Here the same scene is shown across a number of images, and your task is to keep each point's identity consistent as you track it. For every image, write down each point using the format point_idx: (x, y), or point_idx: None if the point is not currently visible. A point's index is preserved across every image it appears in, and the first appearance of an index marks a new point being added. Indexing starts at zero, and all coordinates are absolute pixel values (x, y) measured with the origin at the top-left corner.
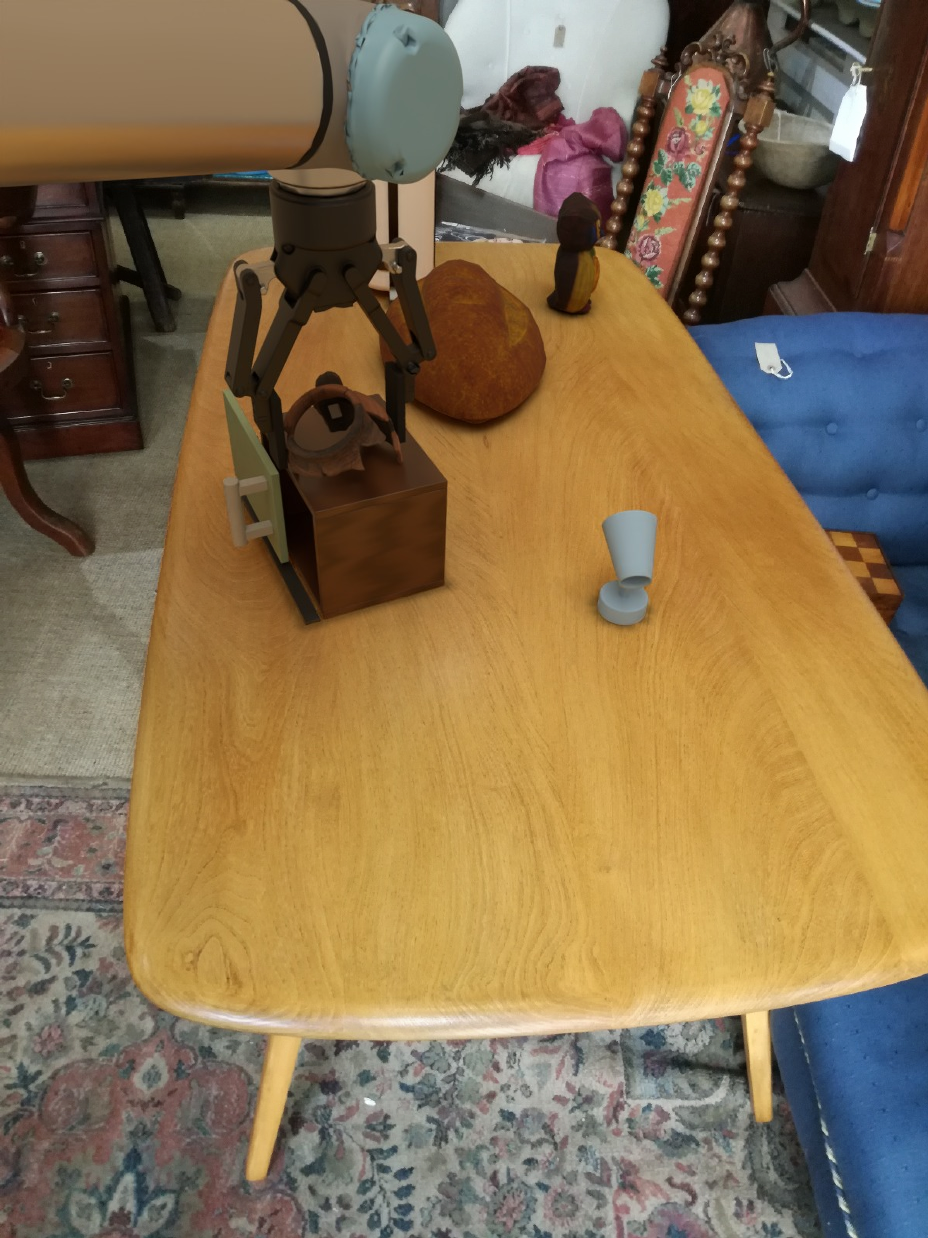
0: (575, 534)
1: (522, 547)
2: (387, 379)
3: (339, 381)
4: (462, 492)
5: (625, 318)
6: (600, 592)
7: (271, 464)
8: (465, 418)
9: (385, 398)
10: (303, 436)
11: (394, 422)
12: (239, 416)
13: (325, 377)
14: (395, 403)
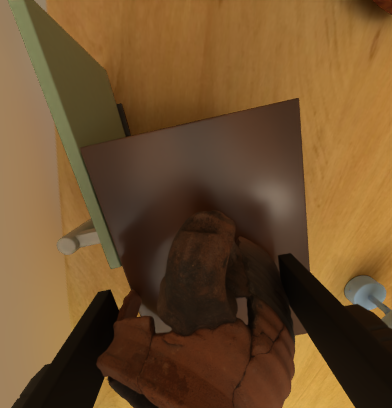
0: (374, 212)
1: (328, 220)
2: (350, 356)
3: (226, 305)
4: (313, 137)
5: None
6: (357, 292)
7: (110, 247)
8: (380, 6)
9: (309, 294)
10: (152, 217)
11: (296, 307)
12: (52, 108)
13: (191, 297)
14: (323, 353)
